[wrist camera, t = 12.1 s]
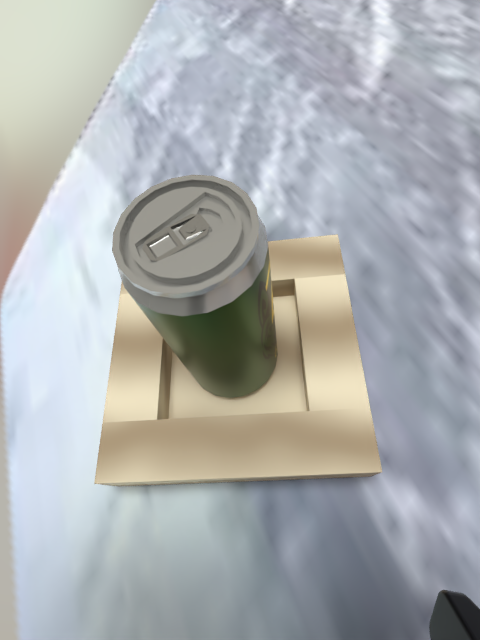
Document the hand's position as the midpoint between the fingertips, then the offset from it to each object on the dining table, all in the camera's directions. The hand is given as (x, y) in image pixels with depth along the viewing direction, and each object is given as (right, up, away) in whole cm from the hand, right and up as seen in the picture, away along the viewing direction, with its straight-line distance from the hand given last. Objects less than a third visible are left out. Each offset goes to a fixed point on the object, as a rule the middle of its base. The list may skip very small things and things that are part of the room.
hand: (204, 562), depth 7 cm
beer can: (0, +2, +16) cm, 16 cm away
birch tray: (+1, +2, +17) cm, 17 cm away
